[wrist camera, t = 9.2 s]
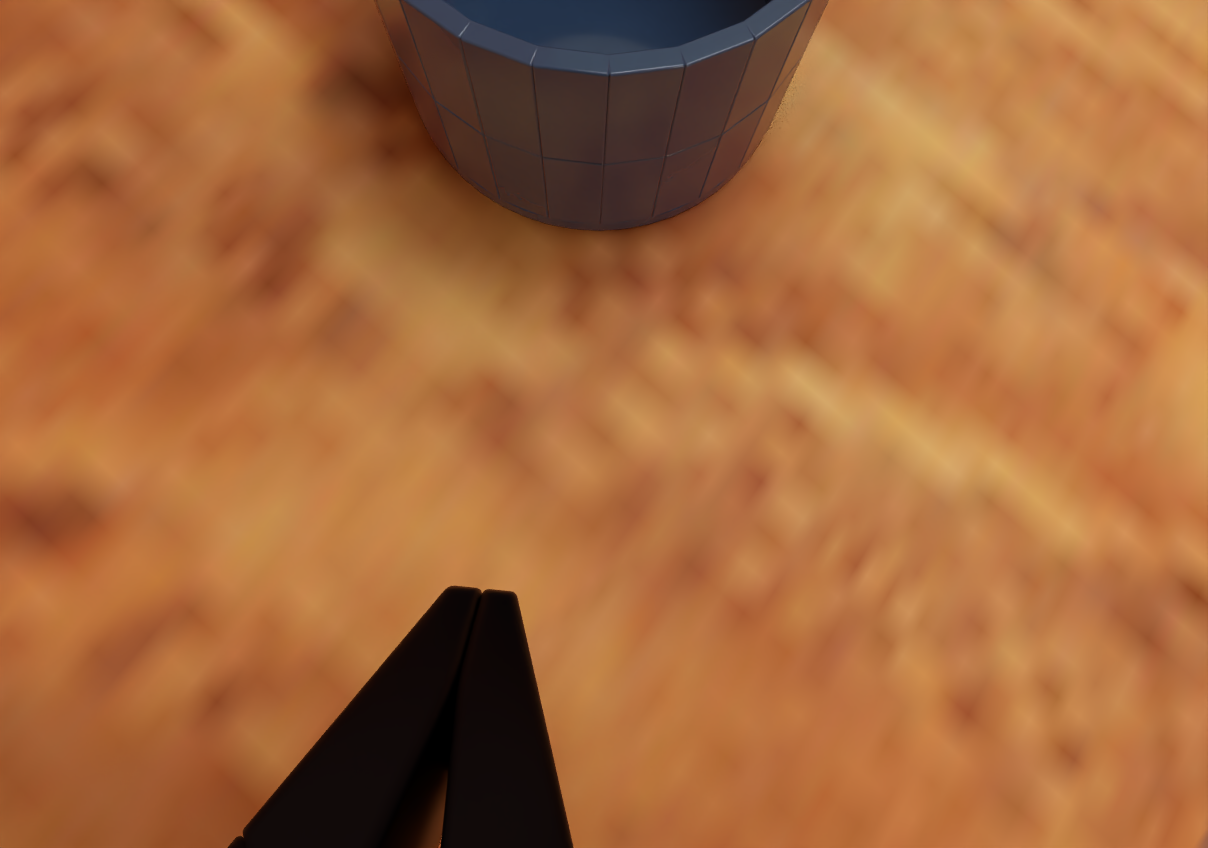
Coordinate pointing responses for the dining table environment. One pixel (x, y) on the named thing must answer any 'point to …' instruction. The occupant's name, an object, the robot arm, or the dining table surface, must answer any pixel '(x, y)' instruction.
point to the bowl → (598, 97)
